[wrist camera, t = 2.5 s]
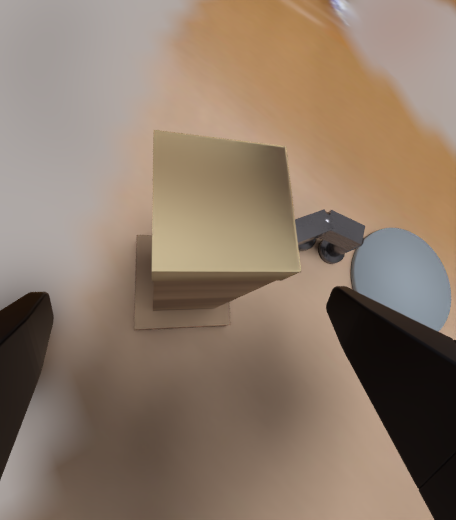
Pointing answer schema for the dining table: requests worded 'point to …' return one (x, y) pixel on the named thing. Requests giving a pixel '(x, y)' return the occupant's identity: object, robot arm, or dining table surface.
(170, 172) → the square column on plinth
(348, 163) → the dining table surface
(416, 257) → the mat
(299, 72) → the dining table surface
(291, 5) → the dining table surface
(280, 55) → the dining table surface
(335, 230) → the dark grey legged piece
